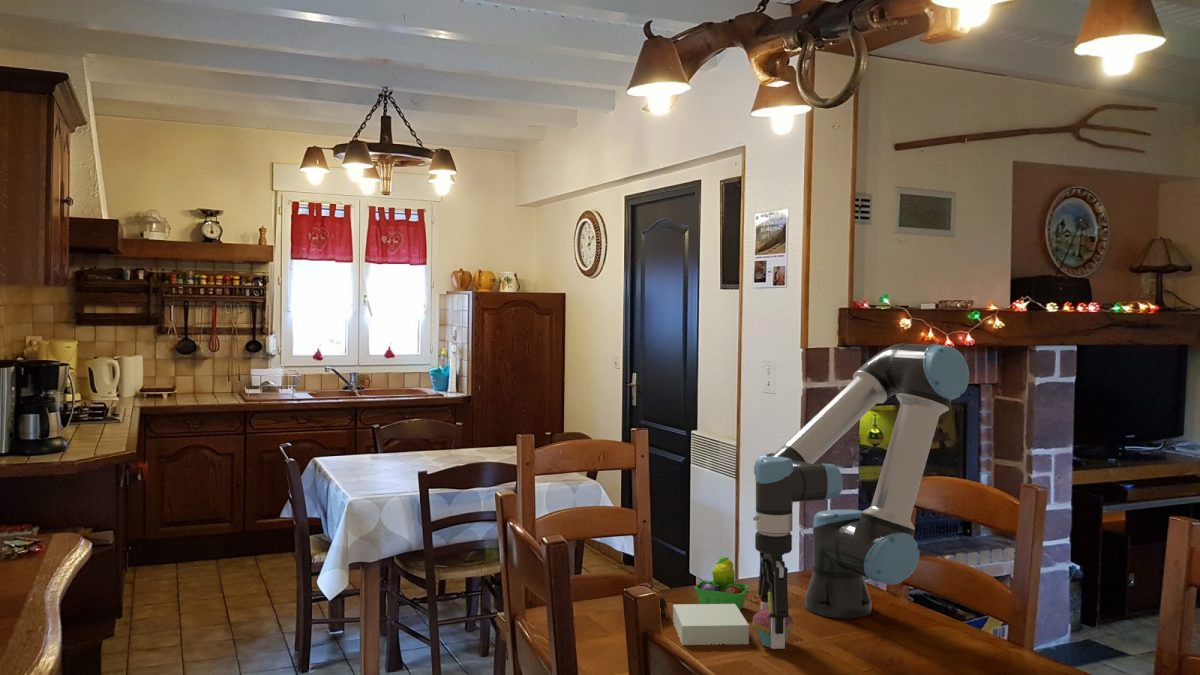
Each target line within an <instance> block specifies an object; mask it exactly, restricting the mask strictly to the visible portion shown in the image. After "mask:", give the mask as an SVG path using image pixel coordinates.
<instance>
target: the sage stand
mask: <svg viewBox="0 0 1200 675" xmlns="http://www.w3.org/2000/svg"><path fill="white" fill-rule="evenodd" d="M672 623H674V624H673V625H674V626H673V627H674V628H676V629H675V630H676V631H675V632H676V634H677V633H678V634H677V636H678V639H679V638H680V639H679V641H680V643H681V645H682V646H698V645H699V646H700V645H701V646H711V644H712V646H714V645H716V646H717V645H719V644H720V645H722V644H725V645H749V644H750V641H749V640H750V637H749V636H750V624H749V623H748V622H747V619H746V618H745V617H744V615H743V614H742V612H741V610H739V609H738V607H737V606H736V604H699V603H697V604H695V603H693V604H692V603H689V604H687V603H685V604H684V603H682V604H672ZM720 645H719V646H720ZM722 646H723V645H722Z"/></svg>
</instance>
